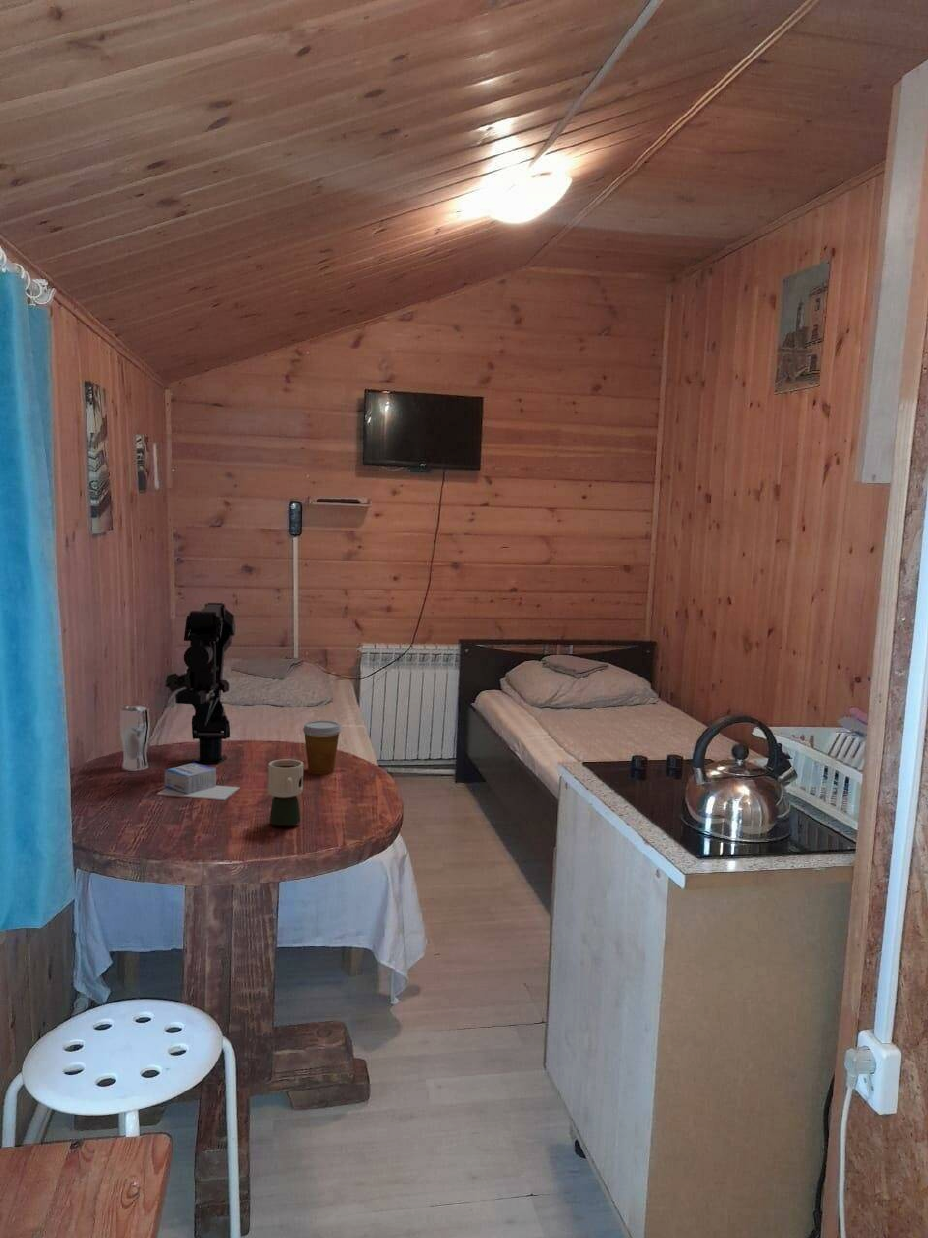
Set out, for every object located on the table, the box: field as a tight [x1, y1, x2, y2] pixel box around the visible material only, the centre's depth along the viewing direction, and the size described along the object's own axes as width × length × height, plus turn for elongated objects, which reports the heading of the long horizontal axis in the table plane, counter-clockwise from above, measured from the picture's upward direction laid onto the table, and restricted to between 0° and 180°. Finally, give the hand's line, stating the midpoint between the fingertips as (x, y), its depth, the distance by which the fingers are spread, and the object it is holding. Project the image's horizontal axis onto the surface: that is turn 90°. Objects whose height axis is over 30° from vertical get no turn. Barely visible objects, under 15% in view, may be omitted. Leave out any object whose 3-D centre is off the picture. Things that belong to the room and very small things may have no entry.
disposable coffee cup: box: [302, 720, 342, 775], centre depth 229 cm, size 10×10×12 cm
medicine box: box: [164, 762, 217, 794], centre depth 211 cm, size 8×4×9 cm
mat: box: [156, 785, 240, 801], centre depth 209 cm, size 9×16×1 cm, turn 82°
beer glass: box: [119, 705, 151, 772], centre depth 226 cm, size 7×7×15 cm
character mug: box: [267, 758, 304, 828], centre depth 189 cm, size 11×7×13 cm, turn 20°
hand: (203, 726), depth 222 cm, fingers closed
